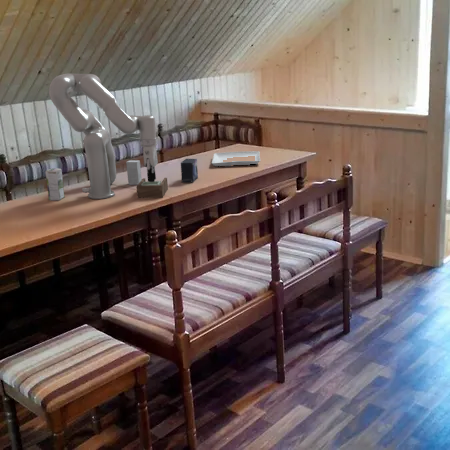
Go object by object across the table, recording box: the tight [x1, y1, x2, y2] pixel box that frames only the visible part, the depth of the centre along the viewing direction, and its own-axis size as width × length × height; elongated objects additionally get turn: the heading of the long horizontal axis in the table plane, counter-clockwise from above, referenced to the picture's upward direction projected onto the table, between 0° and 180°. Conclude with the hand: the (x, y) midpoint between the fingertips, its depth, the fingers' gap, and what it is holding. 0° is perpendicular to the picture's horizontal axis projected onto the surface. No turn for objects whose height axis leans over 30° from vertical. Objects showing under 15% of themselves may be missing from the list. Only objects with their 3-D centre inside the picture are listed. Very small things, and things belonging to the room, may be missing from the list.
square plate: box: [211, 150, 261, 167], centre depth 361 cm, size 27×27×4 cm
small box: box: [180, 158, 199, 184], centre depth 323 cm, size 11×6×10 cm, turn 168°
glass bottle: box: [105, 132, 117, 185], centre depth 321 cm, size 10×10×28 cm
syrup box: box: [45, 167, 65, 201], centre depth 299 cm, size 6×6×14 cm
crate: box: [141, 169, 162, 186], centre depth 297 cm, size 8×8×11 cm
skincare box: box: [125, 159, 143, 186], centre depth 321 cm, size 6×4×12 cm
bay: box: [135, 177, 169, 199], centre depth 301 cm, size 16×12×6 cm
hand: (151, 180), depth 300 cm, fingers closed on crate, 2 cm apart
